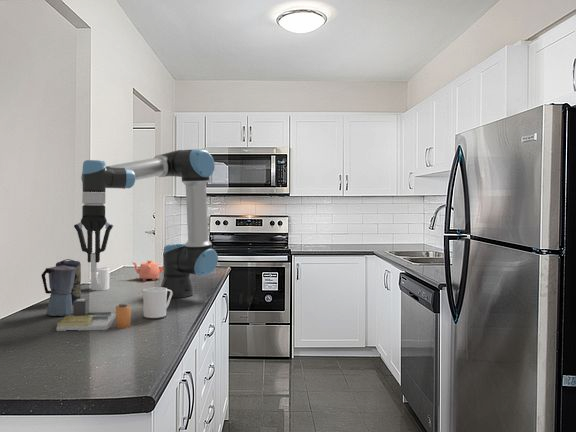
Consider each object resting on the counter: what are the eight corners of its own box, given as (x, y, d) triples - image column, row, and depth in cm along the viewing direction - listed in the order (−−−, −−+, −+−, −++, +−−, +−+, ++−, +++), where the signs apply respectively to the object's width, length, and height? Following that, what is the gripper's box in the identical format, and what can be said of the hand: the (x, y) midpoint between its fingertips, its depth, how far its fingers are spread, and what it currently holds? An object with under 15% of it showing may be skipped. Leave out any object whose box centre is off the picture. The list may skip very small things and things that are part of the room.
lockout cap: (131, 324, 178) (131, 302, 177) (129, 328, 173) (129, 305, 173) (117, 324, 177) (117, 303, 176) (114, 328, 172) (114, 306, 172)
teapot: (152, 276, 277) (153, 258, 276) (167, 279, 270) (167, 260, 269) (130, 280, 265) (131, 260, 265) (145, 282, 258) (145, 263, 258)
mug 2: (145, 320, 183) (145, 292, 183) (140, 315, 191) (140, 288, 190) (175, 317, 188) (175, 290, 188) (169, 312, 196) (169, 286, 195)
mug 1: (86, 292, 231) (86, 270, 230) (93, 287, 243) (93, 267, 242) (104, 292, 232) (104, 270, 231) (110, 287, 244) (110, 267, 243)
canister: (71, 305, 204) (71, 261, 203) (50, 304, 206) (50, 260, 205) (85, 301, 213) (85, 258, 213) (65, 299, 215) (65, 257, 214)
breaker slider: (87, 314, 183) (87, 298, 183) (85, 317, 179) (85, 300, 179) (76, 314, 183) (76, 298, 182) (73, 317, 179) (73, 300, 178)
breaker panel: (115, 317, 187) (115, 310, 187) (107, 329, 170) (107, 321, 170) (69, 318, 184) (69, 310, 184) (56, 331, 167) (56, 322, 167)
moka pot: (84, 311, 195) (84, 259, 194) (54, 320, 180) (53, 264, 180) (64, 309, 198) (64, 258, 197) (33, 318, 184) (32, 263, 183)
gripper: (115, 204, 183) (114, 270, 184) (76, 204, 180) (76, 270, 181) (111, 205, 175) (111, 273, 176) (71, 204, 173) (71, 273, 174)
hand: (93, 271), depth 179 cm, fingers closed
